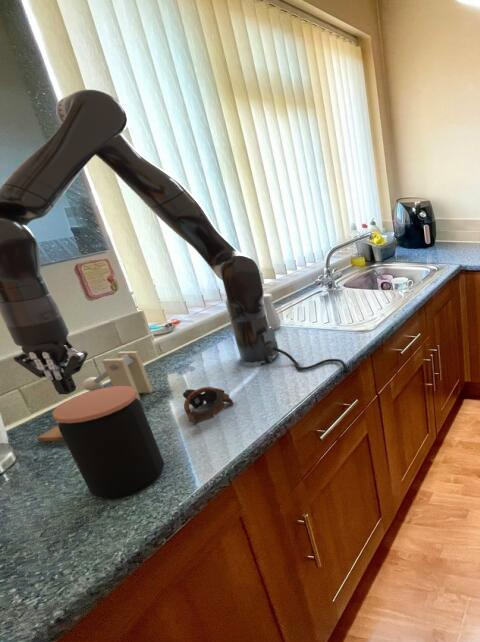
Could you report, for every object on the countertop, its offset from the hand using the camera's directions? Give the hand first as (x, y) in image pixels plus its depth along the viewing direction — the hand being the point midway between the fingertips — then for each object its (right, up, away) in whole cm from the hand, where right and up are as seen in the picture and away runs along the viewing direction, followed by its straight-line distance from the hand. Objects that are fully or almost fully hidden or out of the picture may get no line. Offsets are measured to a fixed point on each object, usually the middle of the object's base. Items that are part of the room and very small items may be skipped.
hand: (67, 392), depth 87 cm
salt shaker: (+9, +12, +60) cm, 62 cm away
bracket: (0, -5, +16) cm, 17 cm away
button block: (0, -10, +4) cm, 11 cm away
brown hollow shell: (+23, -7, +11) cm, 26 cm away
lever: (-3, +1, +13) cm, 14 cm away
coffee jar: (+23, -16, -10) cm, 29 cm away
